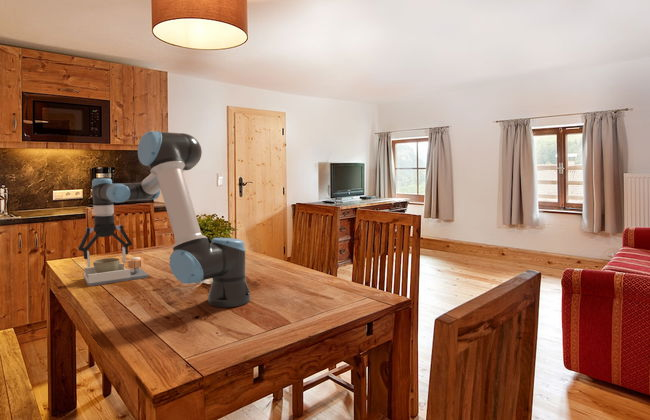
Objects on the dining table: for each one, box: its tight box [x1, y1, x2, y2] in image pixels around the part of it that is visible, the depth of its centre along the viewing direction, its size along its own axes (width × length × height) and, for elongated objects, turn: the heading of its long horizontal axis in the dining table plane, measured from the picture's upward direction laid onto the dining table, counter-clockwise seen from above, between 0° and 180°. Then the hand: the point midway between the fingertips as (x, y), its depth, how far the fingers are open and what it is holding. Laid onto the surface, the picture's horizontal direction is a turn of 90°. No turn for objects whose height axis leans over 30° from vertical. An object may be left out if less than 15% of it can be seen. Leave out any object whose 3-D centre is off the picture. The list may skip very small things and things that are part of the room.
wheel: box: [127, 256, 145, 269], centre depth 181 cm, size 6×6×4 cm
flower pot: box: [92, 257, 120, 273], centre depth 174 cm, size 10×10×7 cm
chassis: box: [83, 262, 149, 287], centre depth 177 cm, size 14×23×5 cm, turn 127°
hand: (107, 264), depth 174 cm, fingers open, 13 cm apart
